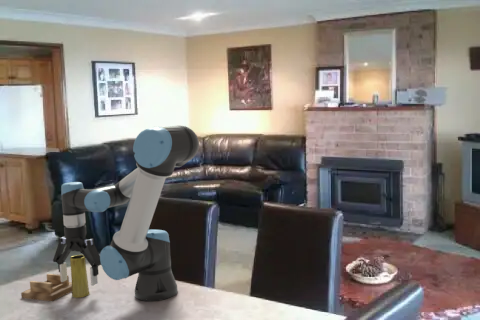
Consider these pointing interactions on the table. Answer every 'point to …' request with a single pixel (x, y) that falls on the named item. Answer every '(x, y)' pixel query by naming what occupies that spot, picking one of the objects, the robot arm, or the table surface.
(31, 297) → the holder
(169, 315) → the table surface
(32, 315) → the table surface
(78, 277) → the vase
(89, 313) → the table surface
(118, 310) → the table surface
